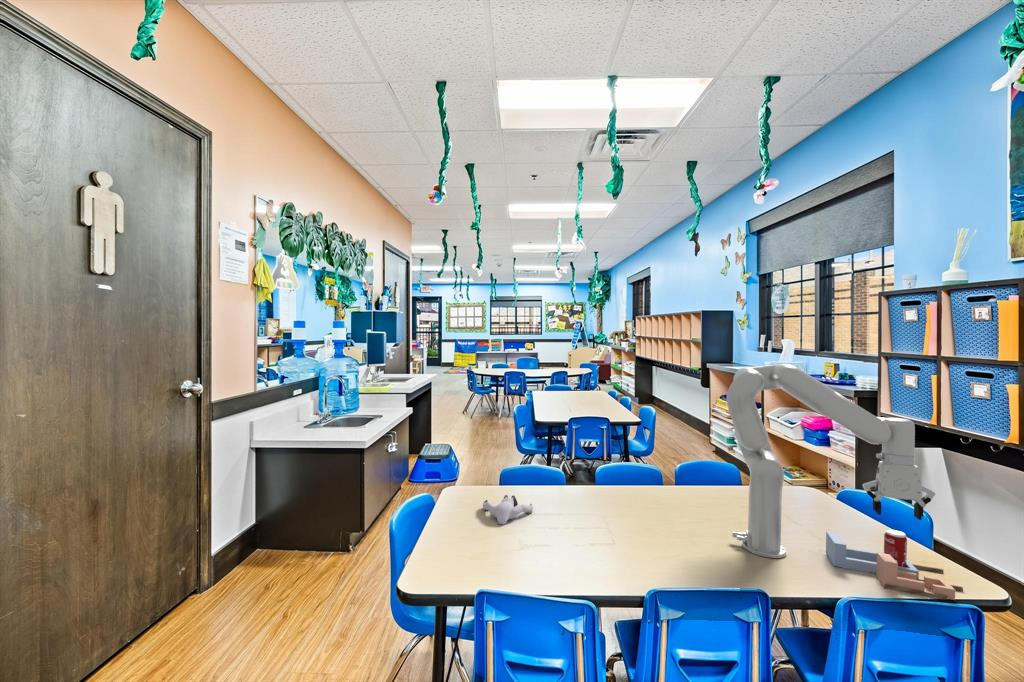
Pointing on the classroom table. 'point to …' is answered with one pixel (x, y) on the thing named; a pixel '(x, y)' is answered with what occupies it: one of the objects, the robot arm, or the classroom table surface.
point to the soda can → (896, 546)
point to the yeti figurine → (507, 509)
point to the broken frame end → (940, 587)
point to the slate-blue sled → (855, 556)
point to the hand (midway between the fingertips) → (897, 515)
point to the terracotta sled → (896, 574)
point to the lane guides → (923, 581)
